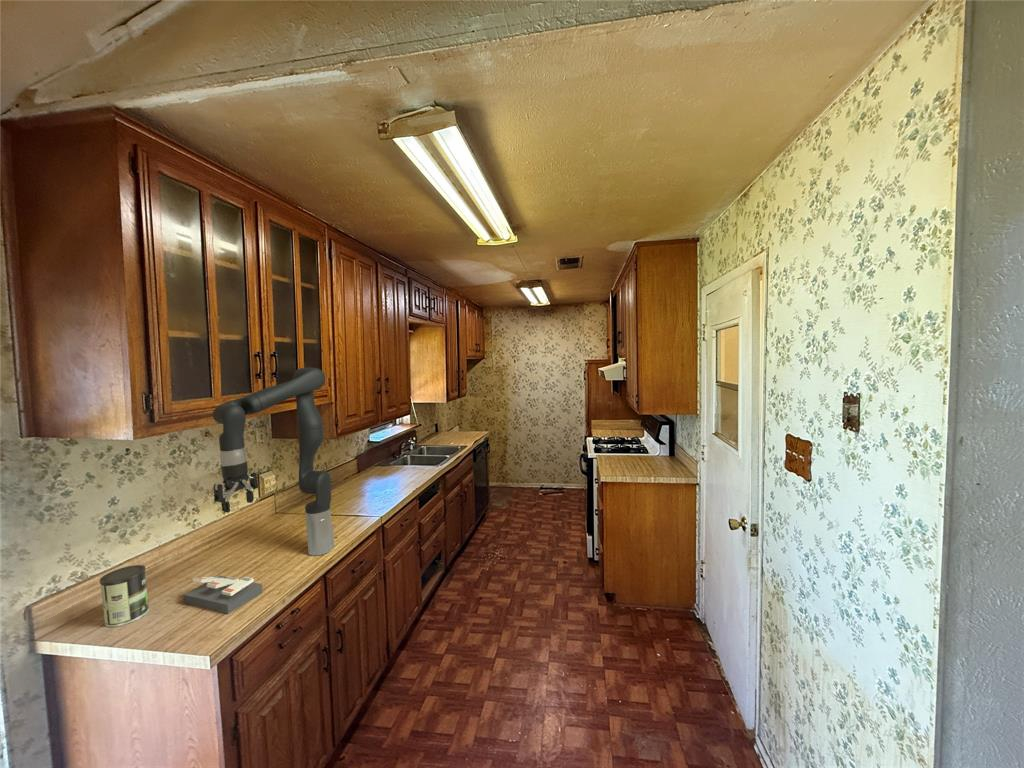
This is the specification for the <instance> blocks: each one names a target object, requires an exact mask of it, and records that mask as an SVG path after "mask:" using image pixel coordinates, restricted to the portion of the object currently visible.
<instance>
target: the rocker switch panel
mask: <svg viewBox="0 0 1024 768" xmlns="http://www.w3.org/2000/svg"><path fill="white" fill-rule="evenodd" d="M217 577H221V578H224V579H226V578H230V577H227V576H224V575H218V576H217ZM207 583H211V582H205V583H202V584H200V585H199V586H196V587H195V588H193V589H191V590H189V591H187V592H185V593H184V594H183V595H182V596H183V604H185V605H188V606H193V607H197V608H201V609H206V610H211V611H213V612H218V613H222V614H227V615H229V614H231V613H232V612H234V611H235V610H237V609H239V608H240V607H243V606H244V605H245V604H247V603H249V602H250V601H252V600H253V599H255V598H257V597H258V596H260V595H261V594H263V584H262V583H257V582H255V581H254V582H252V583H251V584H249V585H248V586H246V587H244V589H241V590H240V591H238V592H237V593H235V594H234V595H232V596H228V595H223V594H222V591H223V590H224V589H226V588H228V587H229V586H231V585H232V584H230V585H229V586H223V587H219V588H216V589H215V588H210V587H207Z"/></svg>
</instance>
